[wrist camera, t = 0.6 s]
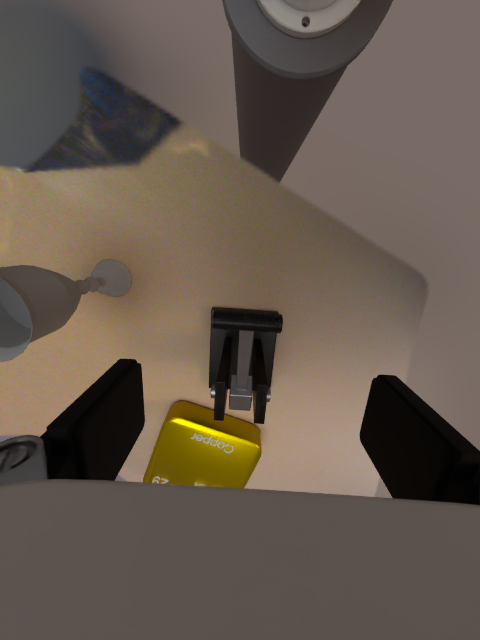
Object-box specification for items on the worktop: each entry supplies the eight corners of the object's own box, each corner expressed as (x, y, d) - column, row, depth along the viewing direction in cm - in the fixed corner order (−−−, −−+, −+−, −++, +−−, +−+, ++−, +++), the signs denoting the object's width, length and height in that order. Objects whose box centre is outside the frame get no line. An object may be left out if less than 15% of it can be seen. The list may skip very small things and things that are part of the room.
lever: (215, 302, 20) (211, 323, 18) (281, 306, 20) (284, 328, 18) (217, 388, 28) (214, 408, 26) (264, 391, 28) (264, 412, 26)
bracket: (212, 307, 35) (194, 342, 23) (277, 311, 35) (294, 349, 23) (209, 383, 39) (193, 449, 26) (269, 387, 39) (279, 456, 26)
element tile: (264, 426, 41) (266, 450, 36) (231, 492, 45) (229, 520, 40) (174, 396, 39) (165, 416, 35) (149, 466, 44) (137, 492, 39)
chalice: (141, 258, 33) (30, 277, 16) (137, 307, 35) (34, 371, 18) (85, 246, 33) (-90, 253, 16) (84, 297, 35) (-72, 351, 18)
